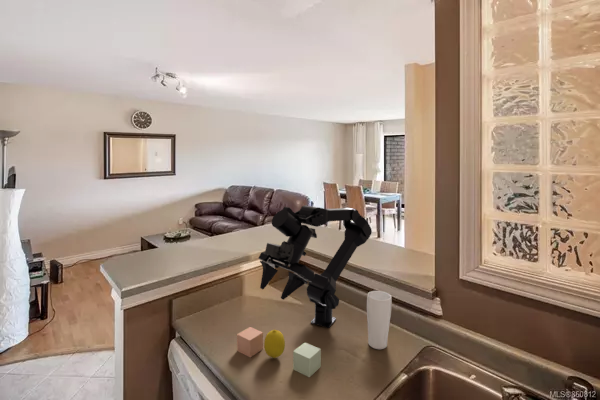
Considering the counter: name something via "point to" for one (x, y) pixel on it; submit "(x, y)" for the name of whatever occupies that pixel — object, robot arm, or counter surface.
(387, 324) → the drinking glass
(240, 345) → the terracotta block
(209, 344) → the counter surface
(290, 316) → the counter surface
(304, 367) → the sage block
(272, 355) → the lemon
